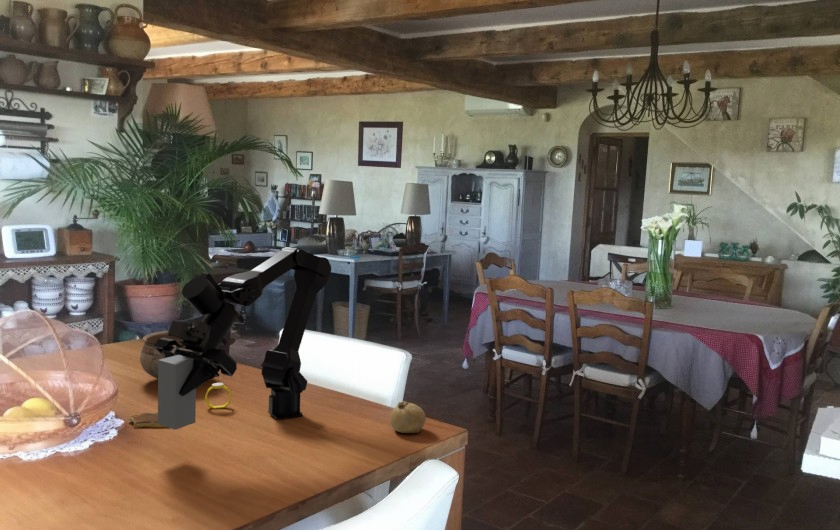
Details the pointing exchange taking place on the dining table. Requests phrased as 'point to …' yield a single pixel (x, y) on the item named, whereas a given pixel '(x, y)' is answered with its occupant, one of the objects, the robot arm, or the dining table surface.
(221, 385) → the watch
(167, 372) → the slate block
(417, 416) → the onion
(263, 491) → the dining table surface
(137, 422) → the shard
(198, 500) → the dining table surface
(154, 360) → the cooking pot
